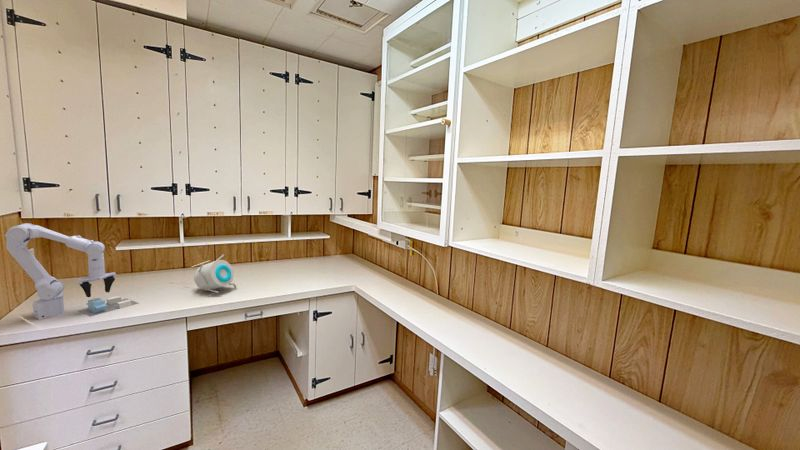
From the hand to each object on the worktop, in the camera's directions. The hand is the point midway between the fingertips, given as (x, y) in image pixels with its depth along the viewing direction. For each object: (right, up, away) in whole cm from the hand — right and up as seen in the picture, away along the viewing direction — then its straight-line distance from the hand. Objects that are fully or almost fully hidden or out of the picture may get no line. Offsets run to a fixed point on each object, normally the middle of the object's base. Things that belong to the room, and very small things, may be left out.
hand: (98, 294), depth 159 cm
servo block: (0, -8, 0) cm, 8 cm away
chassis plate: (+2, -8, +4) cm, 9 cm away
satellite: (+35, -6, +37) cm, 51 cm away
